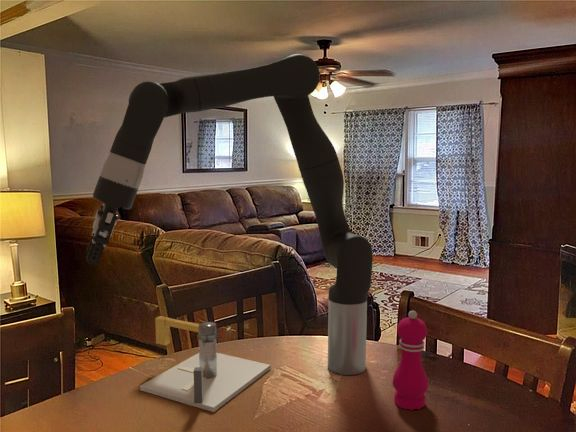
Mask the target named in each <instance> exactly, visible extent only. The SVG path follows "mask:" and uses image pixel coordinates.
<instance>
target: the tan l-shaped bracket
mask: <svg viewBox="0 0 576 432" xmlns="http://www.w3.org/2000/svg"><path fill="white" fill-rule="evenodd" d="M154 319H155V320H154V321H155V322H154V323H155V324H154V325H155V344H156V345H160V346H167V345H169V344H171V332H170V331H171V329H170V328H175V329H176V328H177V329H181V330H185V331H191V332H194V333H198V340H199V339H200V340H202V341H210V340H214V339H216V340H217V323H215V322H213V321H206V322H205V321H204V322H200V323H196V322H191V321H185V320H180V319H175V318H171V317H167V316H162V315H159V316H157V317H155V318H154Z"/></svg>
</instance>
